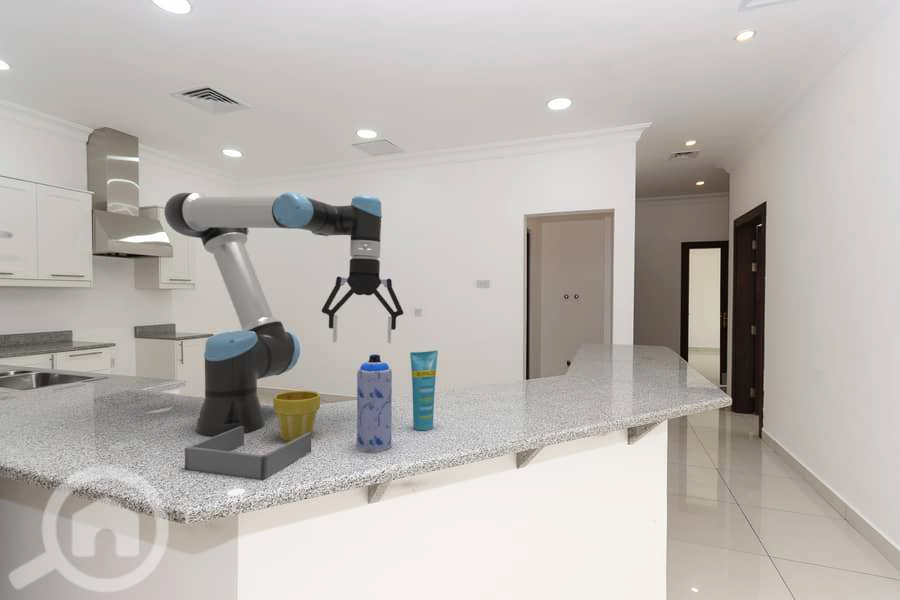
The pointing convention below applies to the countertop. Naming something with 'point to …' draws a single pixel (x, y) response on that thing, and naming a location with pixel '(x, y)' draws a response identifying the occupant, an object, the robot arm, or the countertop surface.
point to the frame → (242, 455)
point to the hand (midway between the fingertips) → (362, 342)
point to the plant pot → (296, 412)
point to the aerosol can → (374, 406)
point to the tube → (423, 388)
